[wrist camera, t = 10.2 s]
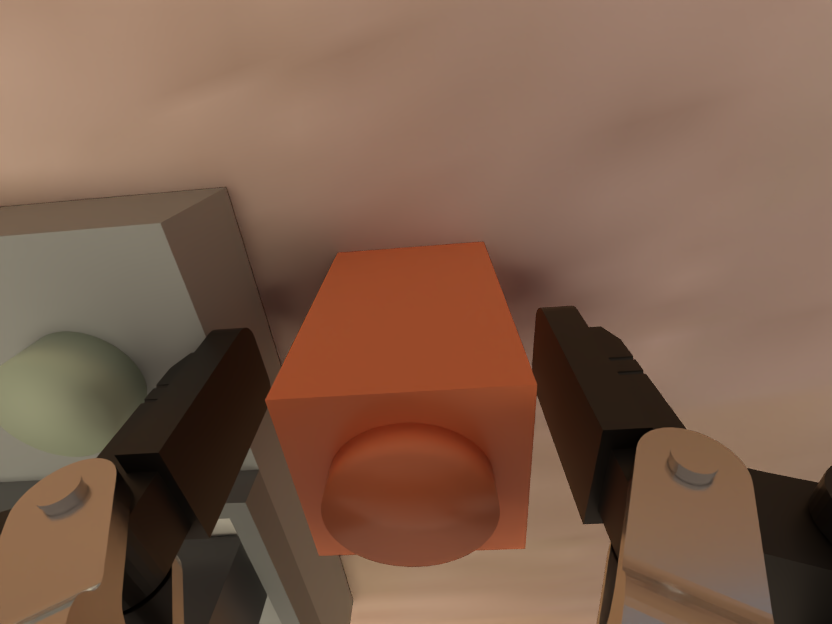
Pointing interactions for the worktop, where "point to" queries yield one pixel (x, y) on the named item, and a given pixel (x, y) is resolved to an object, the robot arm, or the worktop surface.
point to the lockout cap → (409, 408)
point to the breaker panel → (143, 361)
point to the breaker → (220, 582)
